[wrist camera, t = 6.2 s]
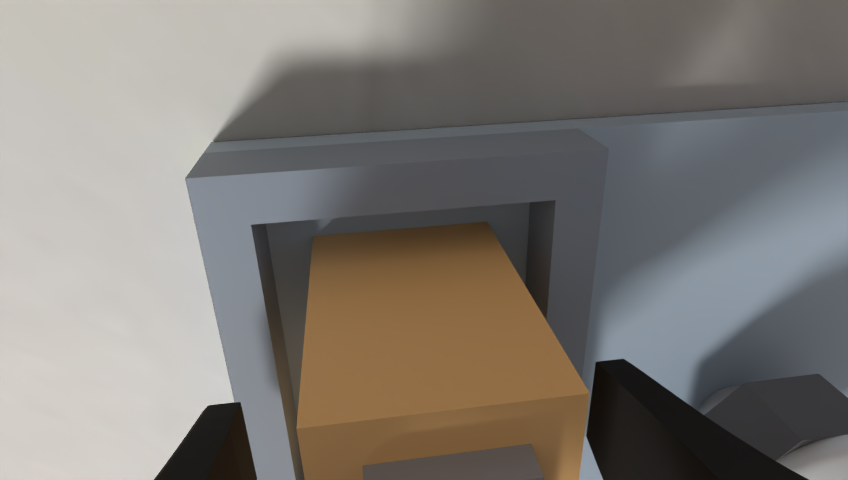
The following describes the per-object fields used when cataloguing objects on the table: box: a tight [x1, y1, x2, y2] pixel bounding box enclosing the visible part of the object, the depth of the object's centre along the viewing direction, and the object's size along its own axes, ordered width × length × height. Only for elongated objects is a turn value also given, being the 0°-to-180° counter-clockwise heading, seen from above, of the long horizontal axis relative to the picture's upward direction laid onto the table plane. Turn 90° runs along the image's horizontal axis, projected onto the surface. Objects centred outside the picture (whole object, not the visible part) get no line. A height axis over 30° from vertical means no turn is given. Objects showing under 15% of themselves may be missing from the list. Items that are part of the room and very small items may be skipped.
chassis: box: [185, 102, 848, 480], centre depth 15 cm, size 18×12×3 cm, turn 92°
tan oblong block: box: [296, 222, 590, 480], centre depth 11 cm, size 4×6×7 cm, turn 2°
